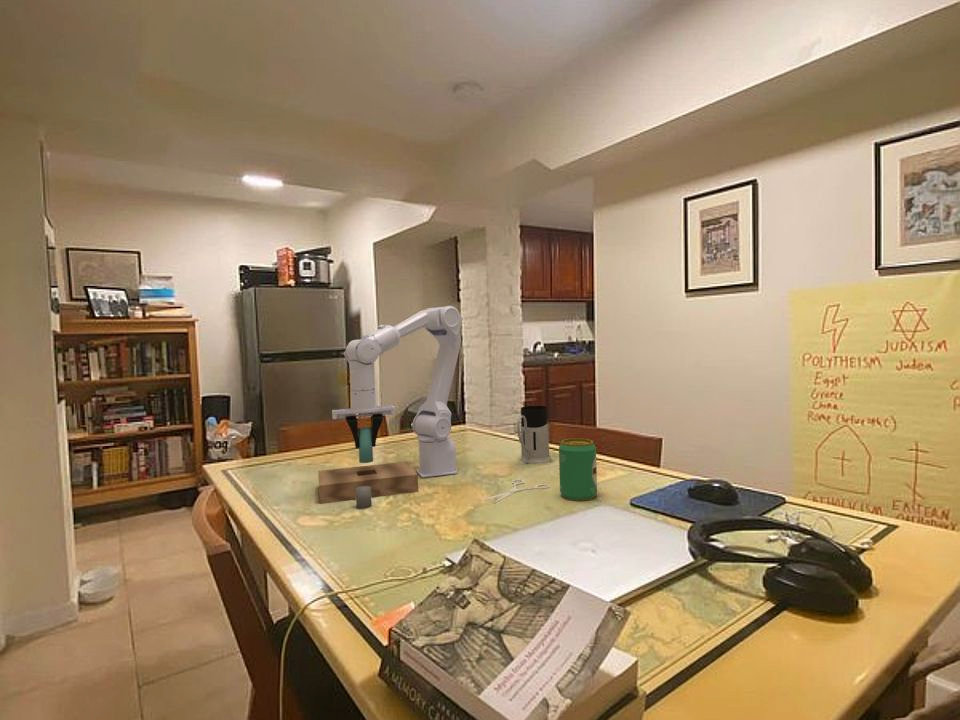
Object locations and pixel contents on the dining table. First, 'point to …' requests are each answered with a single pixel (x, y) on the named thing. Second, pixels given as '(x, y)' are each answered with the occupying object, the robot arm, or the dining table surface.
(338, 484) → the walnut hole block
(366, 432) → the teal pin
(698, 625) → the dining table surface
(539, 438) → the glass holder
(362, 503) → the charcoal stub
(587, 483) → the beverage can
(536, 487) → the scissors
